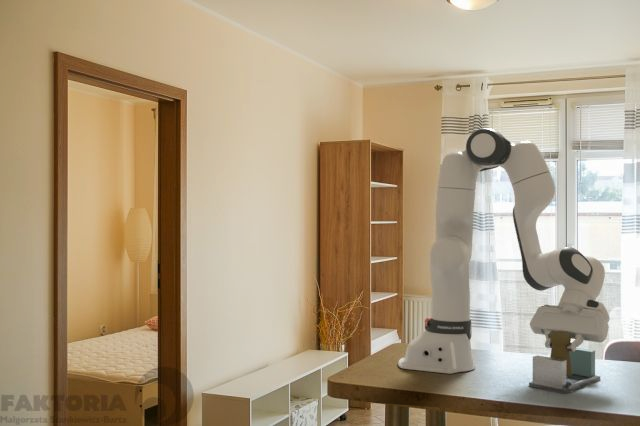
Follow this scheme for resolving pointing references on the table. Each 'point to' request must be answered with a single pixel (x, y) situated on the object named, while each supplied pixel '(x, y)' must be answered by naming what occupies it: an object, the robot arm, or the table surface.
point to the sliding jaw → (583, 362)
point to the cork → (561, 348)
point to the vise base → (557, 376)
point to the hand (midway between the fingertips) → (559, 348)
